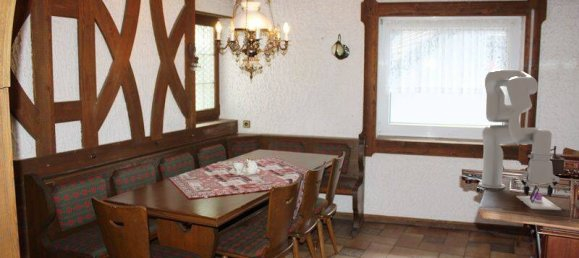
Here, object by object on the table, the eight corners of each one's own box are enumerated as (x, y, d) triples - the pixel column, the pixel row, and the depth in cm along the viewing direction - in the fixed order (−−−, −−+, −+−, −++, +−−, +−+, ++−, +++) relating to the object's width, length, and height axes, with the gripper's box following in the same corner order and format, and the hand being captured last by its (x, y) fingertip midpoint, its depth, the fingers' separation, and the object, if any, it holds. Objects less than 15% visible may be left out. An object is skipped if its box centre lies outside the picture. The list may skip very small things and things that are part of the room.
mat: (516, 196, 250) (516, 195, 250) (543, 197, 249) (543, 196, 249) (531, 208, 229) (531, 207, 229) (561, 210, 227) (561, 208, 227)
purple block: (533, 184, 244) (536, 188, 236) (545, 189, 243) (548, 193, 234) (527, 197, 246) (530, 202, 237) (539, 202, 244) (542, 206, 236)
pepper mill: (563, 173, 311) (565, 142, 309) (563, 176, 301) (565, 145, 299) (534, 170, 318) (536, 141, 316) (533, 173, 308) (535, 143, 306)
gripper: (522, 158, 234) (520, 196, 236) (564, 159, 232) (561, 198, 234) (517, 155, 241) (515, 192, 243) (557, 156, 239) (555, 194, 241)
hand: (537, 195), depth 239 cm, fingers open, 9 cm apart
